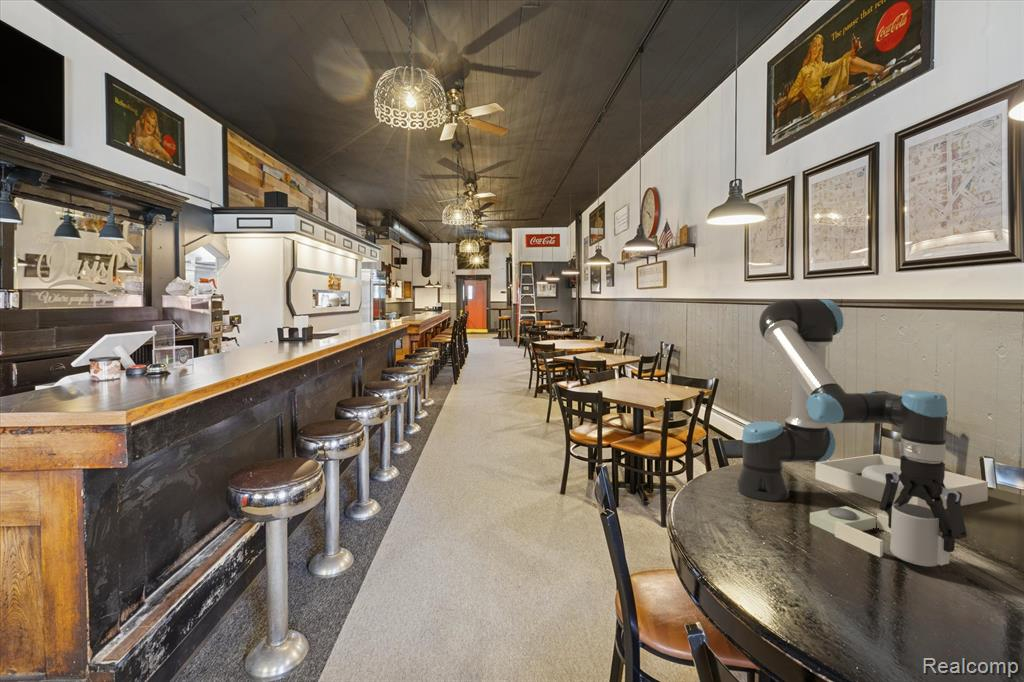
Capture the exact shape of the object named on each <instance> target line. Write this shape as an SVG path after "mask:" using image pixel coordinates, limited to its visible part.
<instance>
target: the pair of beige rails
mask: <svg viewBox="0 0 1024 682" xmlns="http://www.w3.org/2000/svg"><path fill="white" fill-rule="evenodd" d="M888 518H889V516H888V515H886V514H883V513H880V512H879V513H878V512H877V514H876V517H875V516H873V515H870V514H868V513H864V512H862V511H860V510H857V509H854V508H852V507H850V506H847V505H845V506H840V507H830V508H827V509H824V510H823V509H821V510H817V511H812V512H809V524H811V525H813V526H815V527H818V528H820V529H822V530H824V531H826V532H829V533H830V534H832V535H834V538H837V539H839V540H842V541H844V542H846V543H848V544H850V545H852V546H855V547H857V548H858V549H861V550H863V551H865V552H867V553H869V554H871V555H874V556H877V557H878V558H883V557H884V540H883V539H881V538H878V537H875V536H874V535H871V534H869V533H866V532H864V531H868V530H873V528H874V529H876V528H877V529H878V528H879V530H881V531H883V530H884V532H886V531H887V532H886V533H888V532H889V534H891V528H889V526H888V522H889V521H888ZM882 556H883V557H882Z"/></svg>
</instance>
